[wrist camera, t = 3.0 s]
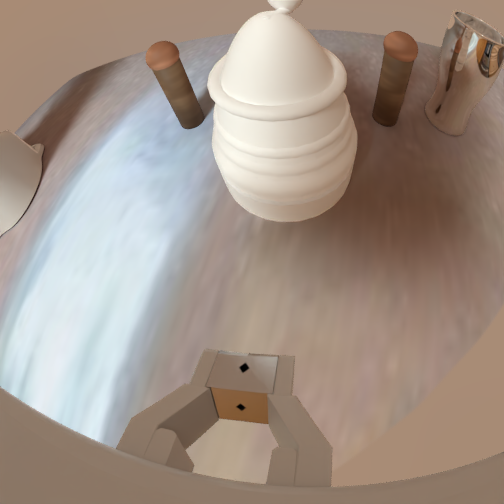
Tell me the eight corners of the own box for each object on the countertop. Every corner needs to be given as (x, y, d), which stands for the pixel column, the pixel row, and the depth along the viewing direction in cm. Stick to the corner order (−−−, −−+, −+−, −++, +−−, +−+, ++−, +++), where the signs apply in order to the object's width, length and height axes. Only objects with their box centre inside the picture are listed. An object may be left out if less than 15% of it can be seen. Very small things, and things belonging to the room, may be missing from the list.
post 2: (369, 122, 29) (385, 35, 17) (372, 104, 30) (386, 22, 18) (397, 131, 28) (422, 46, 17) (398, 112, 29) (419, 32, 17)
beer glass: (419, 94, 29) (444, 2, 15) (463, 109, 28) (498, 26, 14) (423, 129, 27) (460, 26, 13) (471, 146, 26) (520, 57, 12)
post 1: (174, 128, 33) (134, 55, 21) (187, 109, 33) (153, 36, 22) (197, 131, 32) (160, 52, 21) (210, 111, 33) (179, 33, 21)
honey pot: (271, 106, 31) (245, -32, 15) (371, 152, 27) (404, -4, 11) (199, 182, 29) (117, 38, 12) (307, 248, 25) (310, 73, 8)
